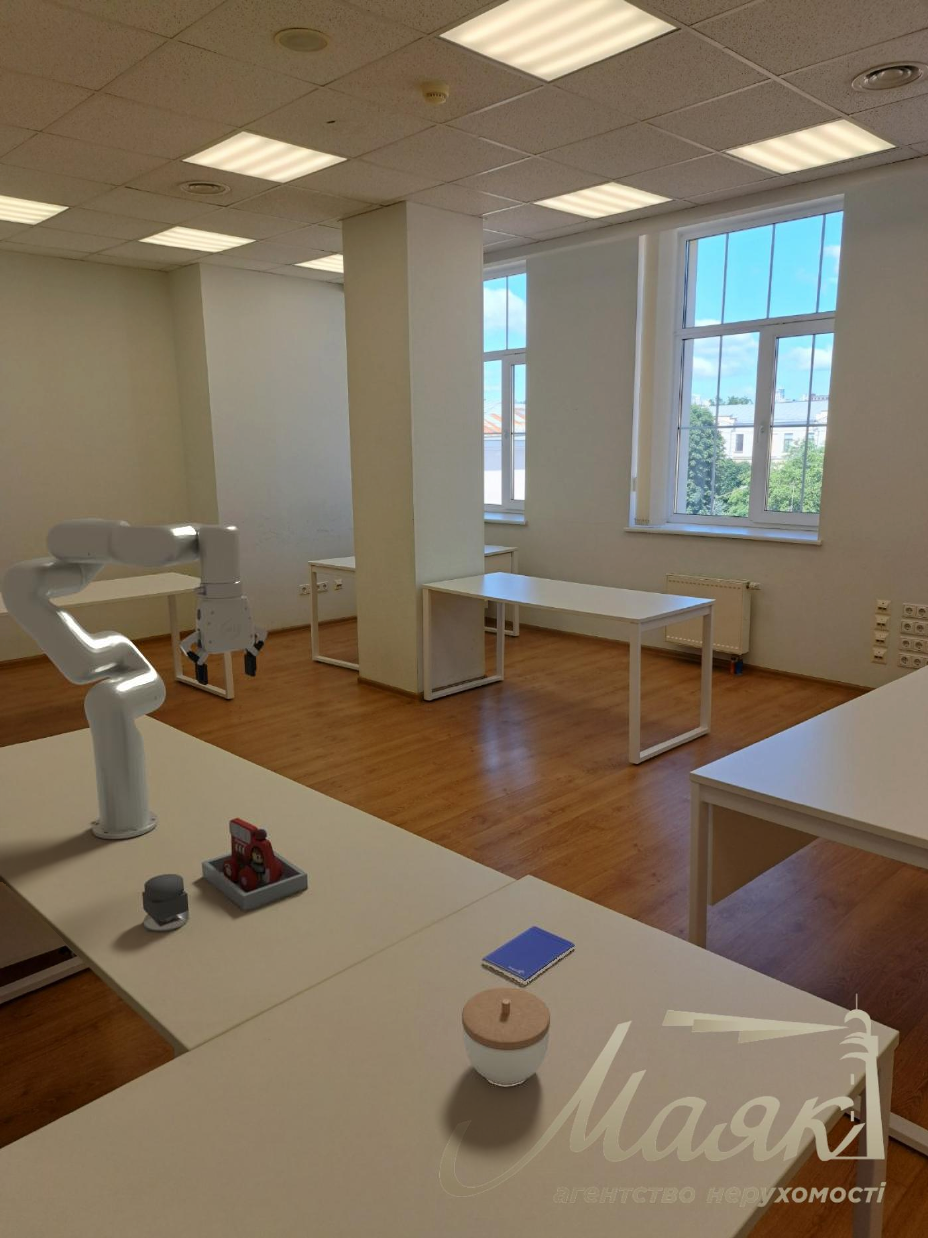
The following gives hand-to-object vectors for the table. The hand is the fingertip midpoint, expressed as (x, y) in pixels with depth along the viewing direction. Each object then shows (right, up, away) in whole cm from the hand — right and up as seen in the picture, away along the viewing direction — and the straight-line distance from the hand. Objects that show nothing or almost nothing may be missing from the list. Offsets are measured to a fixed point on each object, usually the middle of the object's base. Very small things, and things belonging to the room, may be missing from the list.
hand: (227, 679), depth 163 cm
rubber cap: (-4, -36, -23) cm, 43 cm away
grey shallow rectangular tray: (+8, -36, -10) cm, 38 cm away
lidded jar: (+50, -44, -58) cm, 89 cm away
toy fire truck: (+8, -36, -10) cm, 38 cm away
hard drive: (+55, -40, -34) cm, 76 cm away
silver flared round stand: (-4, -38, -23) cm, 45 cm away
